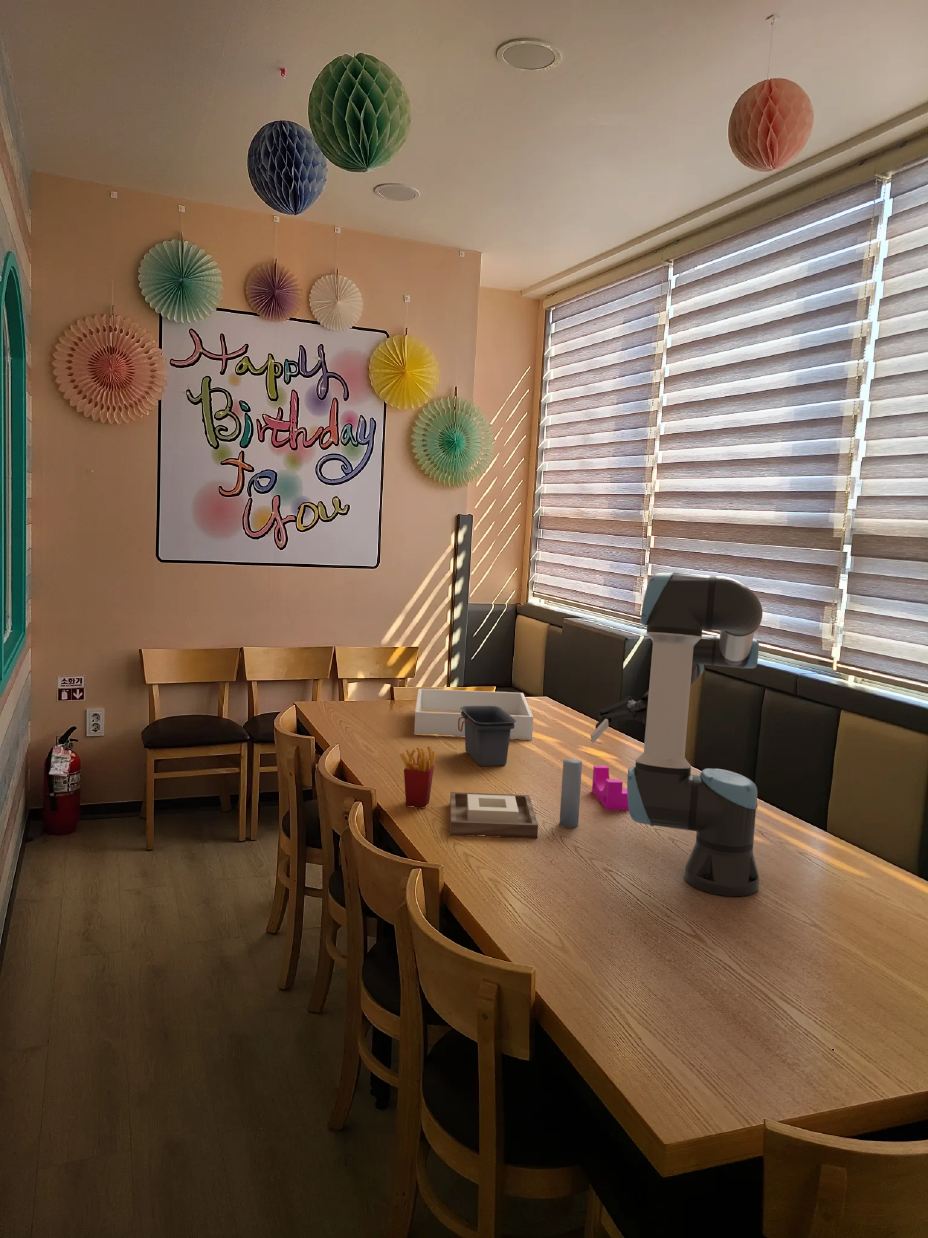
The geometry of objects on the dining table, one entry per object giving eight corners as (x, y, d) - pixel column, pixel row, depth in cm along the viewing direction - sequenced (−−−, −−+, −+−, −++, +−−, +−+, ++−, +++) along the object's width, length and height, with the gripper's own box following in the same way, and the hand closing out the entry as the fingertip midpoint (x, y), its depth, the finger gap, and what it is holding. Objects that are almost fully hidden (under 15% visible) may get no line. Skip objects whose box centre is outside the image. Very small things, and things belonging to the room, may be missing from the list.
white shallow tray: (532, 740, 304) (533, 716, 303) (414, 735, 303) (415, 712, 302) (522, 713, 343) (523, 692, 342) (417, 709, 342) (418, 688, 341)
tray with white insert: (537, 838, 213) (538, 825, 212) (450, 835, 212) (451, 822, 212) (528, 807, 235) (529, 795, 234) (449, 804, 234) (450, 792, 234)
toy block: (629, 810, 237) (631, 782, 236) (606, 810, 236) (608, 782, 235) (613, 792, 252) (615, 766, 251) (591, 792, 251) (593, 765, 250)
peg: (579, 828, 221) (583, 764, 219) (560, 827, 221) (564, 763, 219) (576, 822, 225) (580, 759, 223) (558, 821, 225) (562, 758, 223)
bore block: (517, 830, 218) (518, 811, 217) (467, 828, 217) (468, 810, 217) (513, 813, 230) (514, 796, 229) (466, 811, 229) (467, 794, 229)
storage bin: (517, 768, 270) (520, 721, 268) (467, 770, 266) (469, 722, 264) (495, 749, 290) (497, 705, 289) (449, 750, 286) (450, 706, 284)
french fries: (427, 810, 229) (429, 752, 227) (395, 806, 230) (397, 749, 229) (435, 799, 237) (437, 743, 236) (404, 796, 239) (407, 740, 237)
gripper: (704, 728, 229) (659, 784, 218) (621, 687, 242) (574, 738, 232) (706, 708, 224) (659, 764, 213) (620, 668, 237) (572, 719, 227)
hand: (615, 751), depth 222 cm, fingers open, 13 cm apart
